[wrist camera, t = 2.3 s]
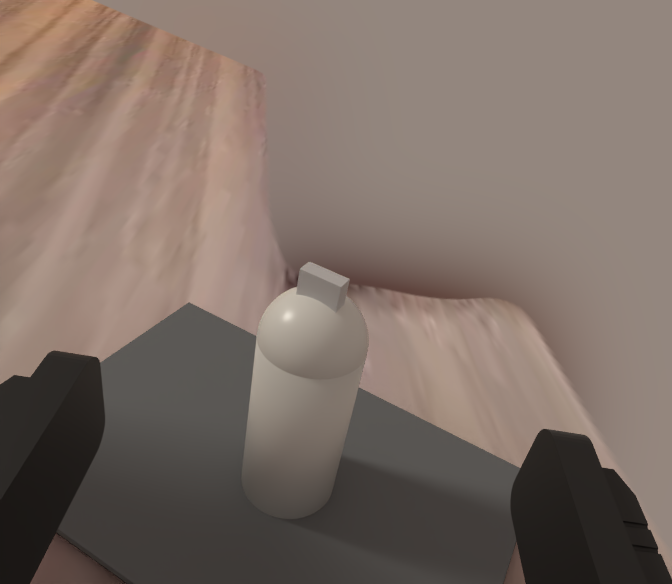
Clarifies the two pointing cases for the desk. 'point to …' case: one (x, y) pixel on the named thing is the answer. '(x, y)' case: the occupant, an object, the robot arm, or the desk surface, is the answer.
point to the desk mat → (235, 508)
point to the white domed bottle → (302, 394)
